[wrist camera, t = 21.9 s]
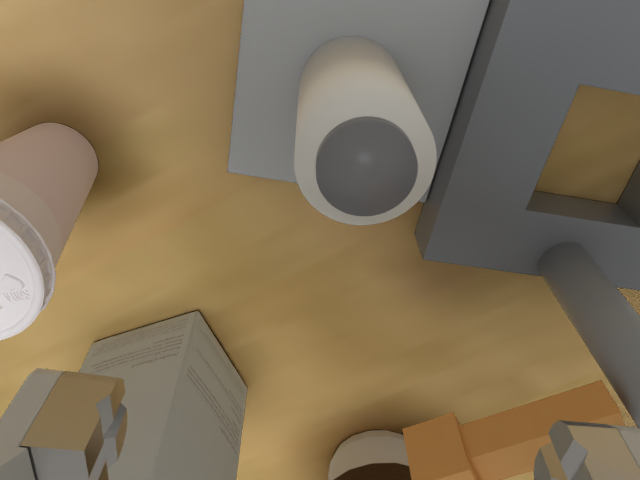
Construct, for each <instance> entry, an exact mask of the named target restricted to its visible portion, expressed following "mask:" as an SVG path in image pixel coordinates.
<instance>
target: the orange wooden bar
mask: <svg viewBox="0 0 640 480" xmlns="http://www.w3.org/2000/svg"><path fill="white" fill-rule="evenodd" d="M558 420H564V421H576V422H587V423H599V424H607V425H618V426H625V424H624V421H623V417H622V414H621V411H620V410H619V408H618V406H617V405H616V403H615V402H614V400H613V398H612V397H611V395H610V394H609V392H608V390H607V389H606V387H605V385H604V384H603V382H602V381H601V380H600V381H597V382H594V383H591V384H588V385H584V386H581V387H578V388H575V389H572V390H569V391H566V392H563V393H560V394H557V395H554V396H550V397H547V398H544V399H541V400H538V401H535V402H532V403H529V404H526V405H523V406H519V407H516V408H513V409H510V410H507V411H504V412H501V413H498V414H495V415H492V416H488V417H485V418H482V419H479V420H476V421H473V422H470V423H467V424H464V425H461V426H460V424H459V422H458V420H457V418H456V416H455V415H454V413H453V412H452V413H449V414H446V415H443V416H440V417H437V418H434V419H431V420H428V421H425V422H422V423H419V424H416V425H413V426H410V427H407V428H404V429H402V430H403V435H404V441H405V446H406V452H407V457H408V463H409V468H410V474H411V479H412V480H502V479H506V478H509V477H513V476H516V475H519V474H523V473H526V472H530V471H533V470H534V462H535V458H536V456H537V453H538V451H539V449H540V448H541V447H542V446H544V445H546V444H548V443H549V442H551V439H550V436H549V434H548V432H549V430H550V428H551V427H552V425H553V424H554V423H555V422H557V421H558Z"/></svg>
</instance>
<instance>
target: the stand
mask: <svg viewBox="0 0 640 480" xmlns="http://www.w3.org/2000/svg"><path fill="white" fill-rule="evenodd" d="M580 84H582V85H587V86H592V87H598V88H603V89H609V90H614V91H619V92H625V93H630V94H635V95H640V0H490V1H489V4H488V7H487V10H486V13H485V17H484V20H483V23H482V26H481V29H480V32H479V35H478V39H477V42H476V45H475V48H474V51H473V54H472V57H471V60H470V64H469V67H468V70H467V73H466V76H465V79H464V82H463V86H462V89H461V92H460V95H459V98H458V101H457V104H456V108H455V111H454V114H453V117H452V120H451V123H450V126H449V130H448V133H447V136H446V139H445V142H444V145H443V148H442V152H441V155H440V158H439V161H438V164H437V167H436V170H435V174H434V177H433V180H432V183H431V186H430V189H429V192H428V196H427V199H426V202H425V203H424V205H423V208H422V211H421V214H420V217H419V221H418V224H417V227H416V230H415V233H414V234H415V237H416V240H417V243H418V246H419V249H420V252H421V255H422V258H423V260H430V261H437V262H444V263H451V264H458V265H465V266H472V267H479V268H486V269H493V270H500V271H507V272H514V273H521V274H528V275H535V276H542V277H543V278H544V280H545V281H546V283H547V285H548V286H549V288H550V289H551V291H552V292H553V294H554V296H555V297H556V299H557V300H558V302H559V303H560V305H561V307H562V308H563V310H564V311H565V313H566V314H567V316H568V318H569V319H570V321H571V322H572V324H573V325H574V327H575V329H576V330H577V332H578V333H579V335H580V336H581V338H582V340H583V341H584V343H585V344H586V346H587V347H588V349H589V351H590V352H591V354H592V355H593V357H594V359H595V360H596V362H597V363H598V365H599V366H600V368H601V370H602V371H603V373H604V374H605V376H606V377H607V379H608V381H609V382H610V384H611V385H612V387H613V388H614V390H615V392H616V393H617V395H618V396H619V398H620V399H621V401H622V403H623V404H624V406H625V407H626V409H627V410H628V412H629V414H630V415H631V417H632V418H633V420H634V421H635V423H636V425H637V426H638V428H639V429H640V316H639V315H638V313H637V312H636V311H635V310H634V308H633V307H632V306H631V305H630V303H629V302H628V301H627V300H626V299H625V297H624V296H623V295H622V294H621V292H620V291H619V290H618V289H617V287H620V288H627V289H634V290H640V162H639V164H638V166H637V167H636V169H635V171H634V173H633V175H632V177H631V179H630V181H629V183H628V184H627V186H626V188H625V190H624V192H623V194H622V196H621V198H620V200H619V201H618V203H617V204H613V203H607V202H601V201H595V200H588V199H582V198H576V197H570V196H563V195H557V194H551V193H545V192H538V191H534V189H535V187H536V184H537V182H538V180H539V177H540V175H541V173H542V170H543V168H544V166H545V163H546V161H547V159H548V157H549V154H550V152H551V150H552V147H553V145H554V143H555V140H556V138H557V136H558V133H559V131H560V129H561V126H562V124H563V122H564V119H565V117H566V115H567V113H568V110H569V108H570V106H571V103H572V101H573V99H574V96H575V94H576V92H577V89H578V87H579V85H580Z"/></svg>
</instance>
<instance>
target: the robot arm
mask: <svg viewBox="0 0 640 480" xmlns="http://www.w3.org/2000/svg"><path fill="white" fill-rule="evenodd" d="M124 394H125V387H124V379H122V378H118V377H110V376H102V375H94V374H86V373H78V372H70V371H59V370H50V369H41V368H37V369H36V370H34V371H33V372H32V373H31V374H29V376H28V377H27V379H26V380H25V382H24V383H23V385H22V386H21V388H20V390H19V391H18V393H17V394H16V396H15V397H14V399H13V400H12V402H11V403H10V405H9V406H8V408H7V410H6V411H5V413H4V414H3V416H2V417H1V419H0V480H109V478H108V470H107V469H108V468H109V467H110V466H111V465H113V464H114V463H115V462H117V461H118V458H119V456H120V453H121V450H122V447H123V444H124V439H125V435H126V431H127V408H126V407H125V406H124V405H123V404H122V403H121V401H122V398H123V396H124ZM548 434H549V436H550V439H551V442H549V443H548V444H546V445H544V446H542V447H541V448H540V449H539V451H538V453H537V456H536V458H535V462H534V479H535V480H640V429H639V428H638V427H628V426H618V425H607V424H599V423H587V422H576V421H564V420H558V421H557V422H555V423H554V424H553V425H552V427H551V428H550V430H549V432H548Z"/></svg>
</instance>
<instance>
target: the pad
mask: <svg viewBox="0 0 640 480" xmlns="http://www.w3.org/2000/svg"><path fill="white" fill-rule="evenodd" d="M489 1H490V0H244V8H243V18H242V28H241V38H240V49H239V59H238V69H237V79H236V90H235V100H234V110H233V120H232V130H231V141H230V151H229V161H228V171H227V172H229V173H236V174H242V175H249V176H255V177H262V178H268V179H275V180H281V181H288V182H294V183H297V180H296V177H295V171H294V152H295V137H296V122H297V107H298V92H299V81H300V76H301V73H302V70H303V68H304V66H305V64H306V62H307V60H308V59H309V58H310V56H311V55H312V54H313V53H314V52H315V51H316V50H317V49H318V48H319V47H321V46H322V45H324V44H325V43H327V42H329V41H331V40H334V39H337V38H340V37H346V36H358V37H364V38H367V39H370V40H372V41H375V42H376V43H378V44H380V45H381V46H382V47H384V48H385V49H386V50H387V51H388V52H389V53H390V54H391V56H392V57H393V59H394V60H395V62H396V64H397V66H398V68H399V70H400V71H401V73H402V75H403V77H404V79H405V81H406V83H407V85H408V87H409V89H410V91H411V93H412V95H413V97H414V99H415V101H416V103H417V104H418V106H419V108H420V110H421V112H422V114H423V116H424V118H425V120H426V122H427V124H428V126H429V128H430V130H431V132H432V134H433V137H434V141H435V145H436V151H437V161H436V167H437V164H438V161H439V158H440V155H441V152H442V148H443V145H444V142H445V139H446V136H447V133H448V130H449V126H450V123H451V120H452V117H453V114H454V111H455V108H456V104H457V101H458V98H459V95H460V92H461V89H462V86H463V82H464V79H465V76H466V73H467V70H468V67H469V64H470V60H471V57H472V54H473V51H474V48H475V45H476V42H477V39H478V35H479V32H480V29H481V26H482V23H483V20H484V17H485V13H486V10H487V7H488V4H489ZM435 170H436V168H435ZM434 174H435V172H434ZM433 177H434V175H433ZM432 180H433V178H432ZM431 183H432V181H431ZM431 183H430V185H429V187H428V189H427V190H426V192H425V193H424V195H423V196H422V197H421V199H420V200H419V201H418V202H424V203H425V202H426V199H427V196H428V192H429V189H430V186H431Z"/></svg>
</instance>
